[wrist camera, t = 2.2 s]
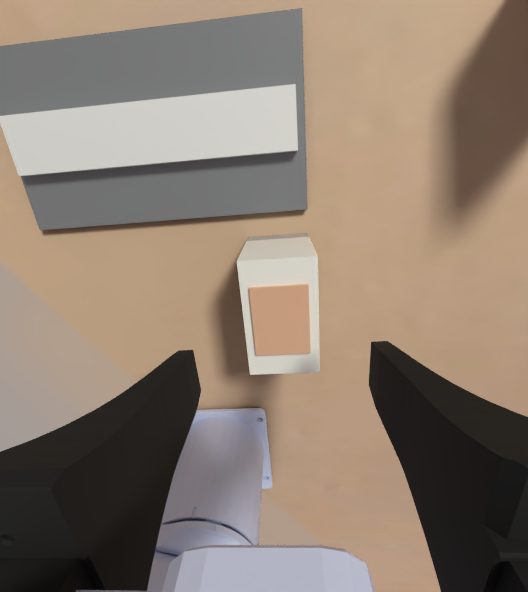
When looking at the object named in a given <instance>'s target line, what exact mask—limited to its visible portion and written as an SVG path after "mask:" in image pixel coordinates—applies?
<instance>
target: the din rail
mask: <svg viewBox="0 0 528 592" xmlns="http://www.w3.org/2000/svg"><path fill="white" fill-rule="evenodd" d="M0 124H1V127H2V129H3V132H4V135H5V138H6V141H7V144H8V146H9V149H10V152H11V155H12V158H13V161H14V163H15V166H16V169H17V172H18V175H19V176H21V178H22V181H23V184H24V187H25V190H26V192H27V195H28V198H29V201H30V204H31V207H32V209H33V212H34V215H35V218H36V221H37V224H38V226H39V229H40V230H50V229H63V228H76V227H89V226H101V225H114V224H127V223H140V222H153V221H165V220H178V219H191V218H204V217H217V216H229V215H242V214H255V213H268V212H280V211H293V210H306V209H307V177H306V140H305V104H304V67H303V31H302V8H299V9H291V10H284V11H276V12H268V13H260V14H252V15H244V16H236V17H228V18H220V19H212V20H204V21H196V22H189V23H181V24H173V25H165V26H157V27H149V28H141V29H133V30H125V31H117V32H109V33H101V34H94V35H86V36H78V37H70V38H62V39H54V40H46V41H38V42H30V43H22V44H14V45H6V46H0Z"/></svg>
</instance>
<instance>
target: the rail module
mask: <svg viewBox="0 0 528 592" xmlns="http://www.w3.org/2000/svg"><path fill="white" fill-rule="evenodd" d="M237 269H238V277H239V286H240V294H241V303H242V311H243V319H244V328H245V336H246V345H247V353H248V362H249V370H250V375H257V374H283V373H309V372H320V363H319V301H318V255H317V253H316V251H315V249H314V247H313V244H312V242H311V240H310V238H309V236H308V233H302V234H288V235H275V236H261V237H248V239H247V241H246V243H245V245H244V247H243V249H242V251H241V253H240V255H239V257H238V260H237Z"/></svg>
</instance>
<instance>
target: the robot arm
mask: <svg viewBox="0 0 528 592" xmlns="http://www.w3.org/2000/svg"><path fill="white" fill-rule="evenodd" d="M369 387H370V390H371V394H372V397H373V400H374V404H375V407H376V409H377V411H378V414H379V416H380V418H381V420H382V423H383V425H384V427H385V429H386V432H387V434H388V436H389V438H390V440H391V443H392V445H393V447H394V449H395V451H396V454H397V456H398V458H399V460H400V463H401V465H402V468H403V470H404V473H405V476H406V479H407V482H408V485H409V488H410V491H411V493H412V496H413V499H414V503H415V506H416V509H417V512H418V515H419V518H420V521H421V524H422V528H423V531H424V534H425V537H426V541H427V544H428V547H429V551H430V554H431V557H432V561H433V564H434V568H435V571H436V575H437V578H438V582H439V585H440V589H441V592H528V417H526V416H523V415H521V414H518V413H515V412H513V411H510V410H508V409H506V408H503V407H501V406H499V405H496V404H494V403H491V402H489V401H487V400H485V399H483V398H480V397H478V396H476V395H474V394H472V393H470V392H468V391H466V390H464V389H462V388H460V387H459V386H457V385H455V384H453V383H451V382H450V381H448V380H446V379H444V378H443V377H441V376H439V375H438V374H436V373H434V372H433V371H431V370H430V369H428V368H426V367H425V366H423V365H422V364H420V363H419V362H417V361H416V360H414V359H413V358H411V357H410V356H409V355H407V354H406V353H404V352H403V351H401V350H400V349H398V348H397V347H395V346H394V345H392V344H391V343H389V342H388V341H381V342H371V356H370V373H369ZM200 393H201V388H200V383H199V378H198V373H197V368H196V362H195V357H194V352H193V350H183V351H178V352H176V353H175V354H173V355H172V356H171V357H169V358H168V359H167V360H166V361H164V362H163V363H162V364H161V365H159V366H158V367H157V368H155V369H154V370H153V371H152V372H150V373H149V374H148V375H147V376H145V377H144V378H143V379H141V380H140V381H138V382H137V383H136V384H134V385H133V386H132V387H130V388H129V389H128V390H126V391H125V392H123V393H122V394H120V395H119V396H117V397H116V398H114V399H112V400H111V401H109V402H107V403H106V404H104V405H102V406H101V407H99V408H97V409H96V410H94V411H92V412H90V413H88V414H86V415H84V416H82V417H80V418H79V419H77V420H75V421H73V422H71V423H69V424H67V425H65V426H63V427H61V428H58V429H56V430H54V431H52V432H50V433H47V434H45V435H43V436H40V437H38V438H36V439H33V440H31V441H28V442H26V443H23V444H20V445H18V446H15V447H12V448H9V449H7V450H4V451H2V452H0V592H375V590H374V586H373V581H372V578H371V575H370V573H369V570H368V567H367V565H366V563H364V562H363V561H362V560H360V559H359V558H357V557H356V556H354V555H352V554H351V553H349V552H348V551H346V550H344V549H340V548H334V547H328V546H322V545H259V528H260V511H261V493H262V489H269V488H271V487H272V473H271V463H270V453H269V443H268V433H267V423H266V414H265V410H264V409H262V408H240V409H208V410H197V406H198V402H199V397H200ZM258 418H262V419H258Z"/></svg>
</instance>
